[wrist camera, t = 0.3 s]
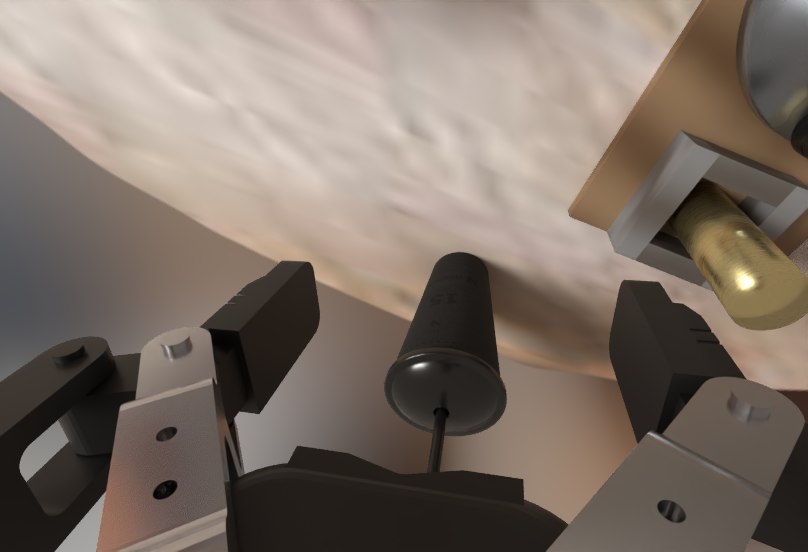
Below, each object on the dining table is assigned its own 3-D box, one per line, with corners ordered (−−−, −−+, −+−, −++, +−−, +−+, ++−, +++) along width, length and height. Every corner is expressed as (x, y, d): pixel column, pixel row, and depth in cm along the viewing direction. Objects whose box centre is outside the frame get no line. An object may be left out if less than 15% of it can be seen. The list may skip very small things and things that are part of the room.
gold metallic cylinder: (687, 173, 29) (767, 260, 21) (736, 193, 30) (836, 288, 21) (652, 217, 32) (711, 314, 23) (698, 236, 32) (774, 339, 23)
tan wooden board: (838, -215, 20) (904, -250, 17) (1127, -84, 21) (1243, -94, 17) (568, 210, 33) (575, 236, 30) (746, 281, 34) (772, 314, 31)
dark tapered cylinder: (519, 294, 38) (532, 528, 22) (442, 319, 42) (404, 540, 26) (481, 223, 35) (463, 436, 19) (401, 257, 39) (328, 463, 22)
